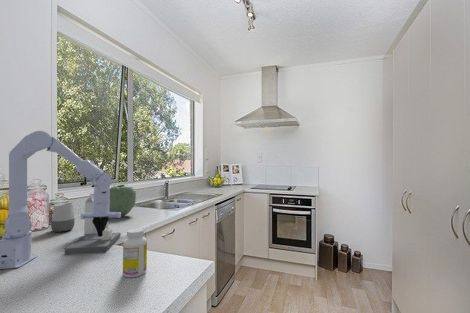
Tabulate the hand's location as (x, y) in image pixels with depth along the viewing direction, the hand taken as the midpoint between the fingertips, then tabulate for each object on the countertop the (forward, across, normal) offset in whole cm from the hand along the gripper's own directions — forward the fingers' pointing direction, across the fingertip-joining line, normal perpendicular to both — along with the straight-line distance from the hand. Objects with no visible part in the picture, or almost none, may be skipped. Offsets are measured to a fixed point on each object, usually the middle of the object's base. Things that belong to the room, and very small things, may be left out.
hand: (100, 235), depth 96 cm
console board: (+3, +2, 0) cm, 4 cm away
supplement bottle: (+4, -19, +29) cm, 35 cm away
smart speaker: (+4, +25, -24) cm, 35 cm away
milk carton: (+4, +7, -15) cm, 17 cm away
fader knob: (+1, -3, 0) cm, 3 cm away
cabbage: (+4, +7, -52) cm, 53 cm away
